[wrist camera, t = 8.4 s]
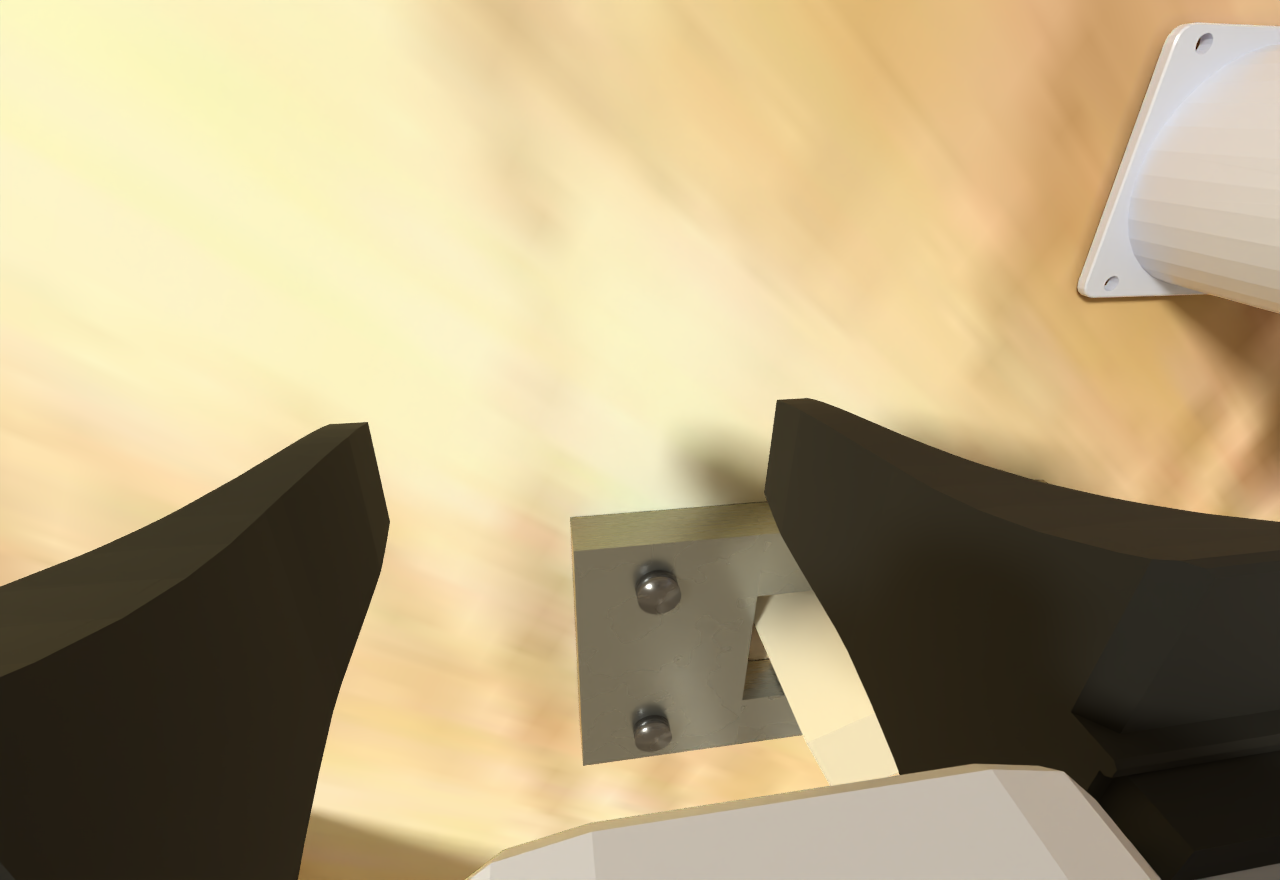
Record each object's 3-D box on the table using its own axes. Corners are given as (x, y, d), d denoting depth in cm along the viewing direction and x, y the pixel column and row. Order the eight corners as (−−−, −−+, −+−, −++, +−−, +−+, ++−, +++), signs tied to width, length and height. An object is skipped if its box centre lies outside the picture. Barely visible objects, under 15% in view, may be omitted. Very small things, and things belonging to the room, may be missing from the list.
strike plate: (1043, 479, 26) (1092, 515, 24) (965, 675, 32) (999, 719, 29) (570, 517, 23) (574, 562, 21) (579, 725, 29) (584, 778, 26)
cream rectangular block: (827, 557, 26) (917, 694, 20) (850, 614, 28) (939, 755, 22) (742, 596, 26) (806, 743, 20) (771, 650, 28) (837, 799, 22)
